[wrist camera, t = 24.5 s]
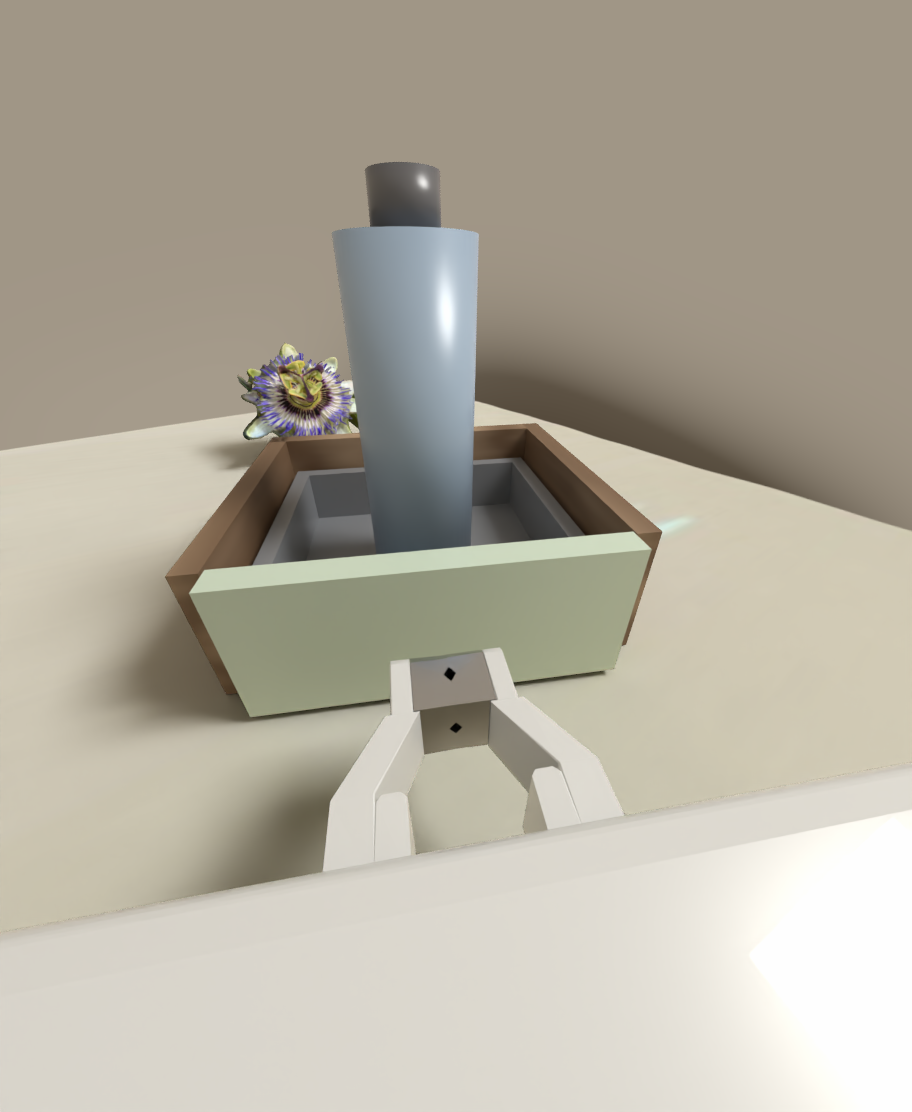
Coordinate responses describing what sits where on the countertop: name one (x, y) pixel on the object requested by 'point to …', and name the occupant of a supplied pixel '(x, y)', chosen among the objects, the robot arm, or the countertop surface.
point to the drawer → (416, 593)
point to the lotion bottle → (412, 358)
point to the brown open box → (271, 475)
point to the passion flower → (299, 398)
